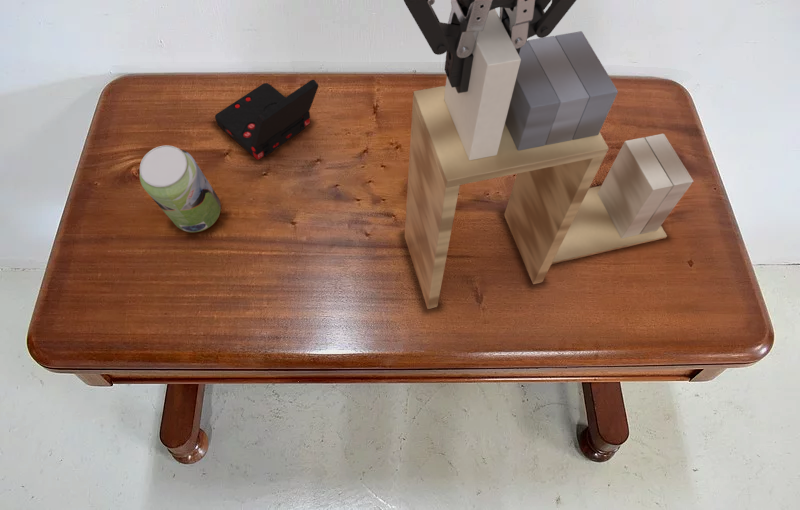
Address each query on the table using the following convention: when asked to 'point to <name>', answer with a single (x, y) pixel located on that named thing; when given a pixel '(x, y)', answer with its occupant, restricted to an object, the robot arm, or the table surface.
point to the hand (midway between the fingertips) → (478, 80)
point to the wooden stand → (513, 157)
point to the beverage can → (179, 188)
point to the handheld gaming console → (267, 117)
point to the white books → (628, 200)
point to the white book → (485, 91)
